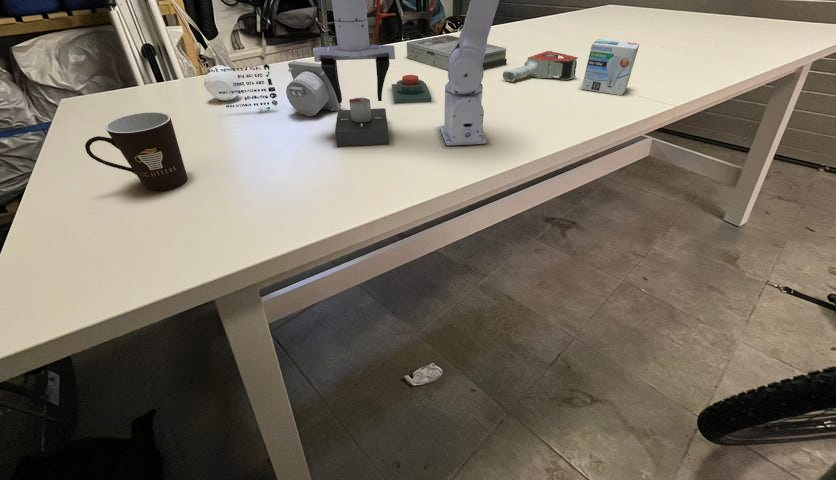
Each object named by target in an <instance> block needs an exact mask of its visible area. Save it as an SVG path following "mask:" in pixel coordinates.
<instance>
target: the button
mask: <svg viewBox="0 0 836 480" xmlns="http://www.w3.org/2000/svg"><path fill="white" fill-rule="evenodd" d="M401 80H402V83H403V85H408V86H413V85H418V84H419V80H420V78H419V76H418V75H416V74H406V75H403V76H402V77H401Z"/></svg>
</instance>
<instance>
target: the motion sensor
mask: <svg viewBox="0 0 836 480" xmlns="http://www.w3.org/2000/svg"><path fill="white" fill-rule="evenodd" d="M215 68H217V69H218V70H217V71H218V72H217V71H216V69H215ZM214 69H215V72H214ZM221 69H223V71H224V69H230V70H229V71H228V70H225V71H226V72H223V71H222V70H221ZM231 69H232V67H230V66H228V65H226V66H224V65H223V64H219V65H218V64H217V65H214V66H212V67H210V68H209V69H208V70H210V73H209V72H207V74H206V76H205V78H204V81H203V83H204V84H203V85H204V88H205V90H206V91H207V92H208V94H209V95H210V96H211V97H213V98H214V99H217V100H219V101H231V100H233V99H235V98H236V97H237V96H238V95H239V92H238V93H236V92H237V91H239V90H240V91H241V84H240V85H239V86H237V83H240V78H238V75H239V74H237V72H236V71H233V70H232V71H231ZM211 70H213V71H212V72H211ZM221 71H222V72H221ZM236 82H237V83H236ZM233 83H236V86H234V85H235V84H234V85H233ZM225 91H227V94H226V92H225ZM230 91H231V93H230ZM232 91H233V92H234V91H236V92H234V93H232ZM218 92H223V93H224V92H225V94H223V93H221V94H220V93H218ZM229 93H230V94H229Z"/></svg>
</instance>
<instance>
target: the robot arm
mask: <svg viewBox="0 0 836 480" xmlns="http://www.w3.org/2000/svg"><path fill="white" fill-rule="evenodd" d="M499 4H500V0H469V3H468V7H467V11H466V15H465V17H464V21H463V26H462V28H461V31H460V33H459V36H458V37H459V40H458V43H457V45H456V46H455V48H454V49H453V50H452V51H451V53H450V55H449V57H448V69H449V70H447V79H448V82H447V83H446V84H445V85H444V113H443V114H444V115H443V117H444V118H443V125H440V126H439V130H440V132H441V136H442V138H443V140H444V143H445V145H446V146H465V145H484V144H487V139H486V138H485V136H484V134H483V128H484V117H485V111H484V110H485V109H484V106H483V105H482V103H483V90H484V86H483V83H482V82H483V80H484V70H483V59H484V56H485V52H486V46H487V44H488V39H489V35H490V32H491V28H492V25H493V22H494V19H495V16H496V12H497V10H498V6H499ZM331 7H332V14H333V19H334V21H333V22H334V29H335V36H336V43H337V45H332V46H322V47H321V46H320V47H313V48H312V54H313V59H314V60H313V61H314V63H320V64H321V67H322V70H323V71H324V73H325V74H326V76H327V78H328V79H329V81H330V83H331V85H332V87H333V89H334V92H335V94H336V97H337V100H338V103H341V104H342V102H343V95H342V90H341V84H340V81H339V80H340V79H339V71H338V64H337V61H354V60H375V66H376V67H375V68H376V79H377V80H376V83H377V85H376V92H377V102H382V101H383V100H382V99H383V98H382V97H383V88H384V84H385V80H386V77H387V73H388V71H389V68H390V60H395V59H396V52H395V51H396V49H395V45H394V44H392V45H390V44H389V45H388V44H387V45H386V44H370V43H371V42H370V33H369V32H370V31H369V23H368V22H369V21H368V11H367V1H366V0H331Z"/></svg>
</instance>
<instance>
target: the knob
mask: <svg viewBox="0 0 836 480" xmlns="http://www.w3.org/2000/svg"><path fill="white" fill-rule="evenodd" d="M348 102H349V110H351V118H352V121H354V122H367V121H370V120H371V119H372V117H371V109H372V106H371V100H370V99H369V98H367V97H355V98H350V99H349V100H348Z"/></svg>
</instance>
